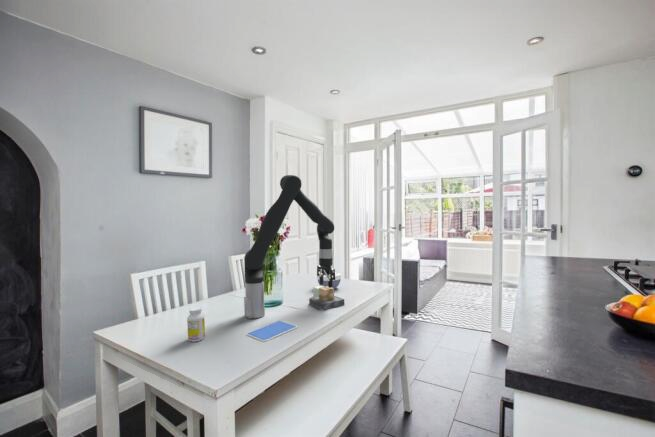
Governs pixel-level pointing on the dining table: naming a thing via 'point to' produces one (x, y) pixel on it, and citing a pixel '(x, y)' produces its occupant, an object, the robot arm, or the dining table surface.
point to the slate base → (326, 302)
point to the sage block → (316, 291)
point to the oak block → (326, 293)
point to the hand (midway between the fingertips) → (325, 285)
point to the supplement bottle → (196, 325)
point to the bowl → (335, 282)
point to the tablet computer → (271, 331)
